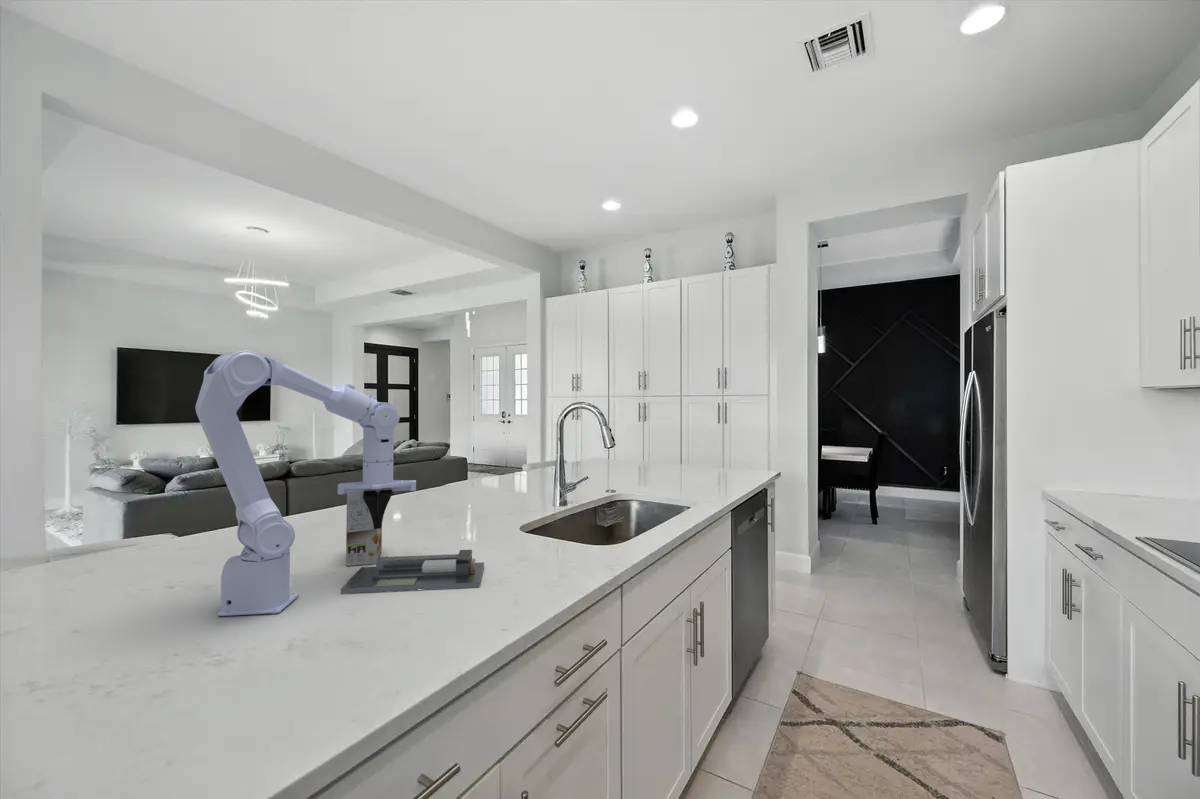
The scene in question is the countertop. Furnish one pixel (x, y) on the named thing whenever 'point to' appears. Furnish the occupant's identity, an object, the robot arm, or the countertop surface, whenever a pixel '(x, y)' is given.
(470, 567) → the rectangular block
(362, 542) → the coffee box
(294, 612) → the countertop surface
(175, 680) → the countertop surface
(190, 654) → the countertop surface
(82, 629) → the countertop surface
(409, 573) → the heatsink base
